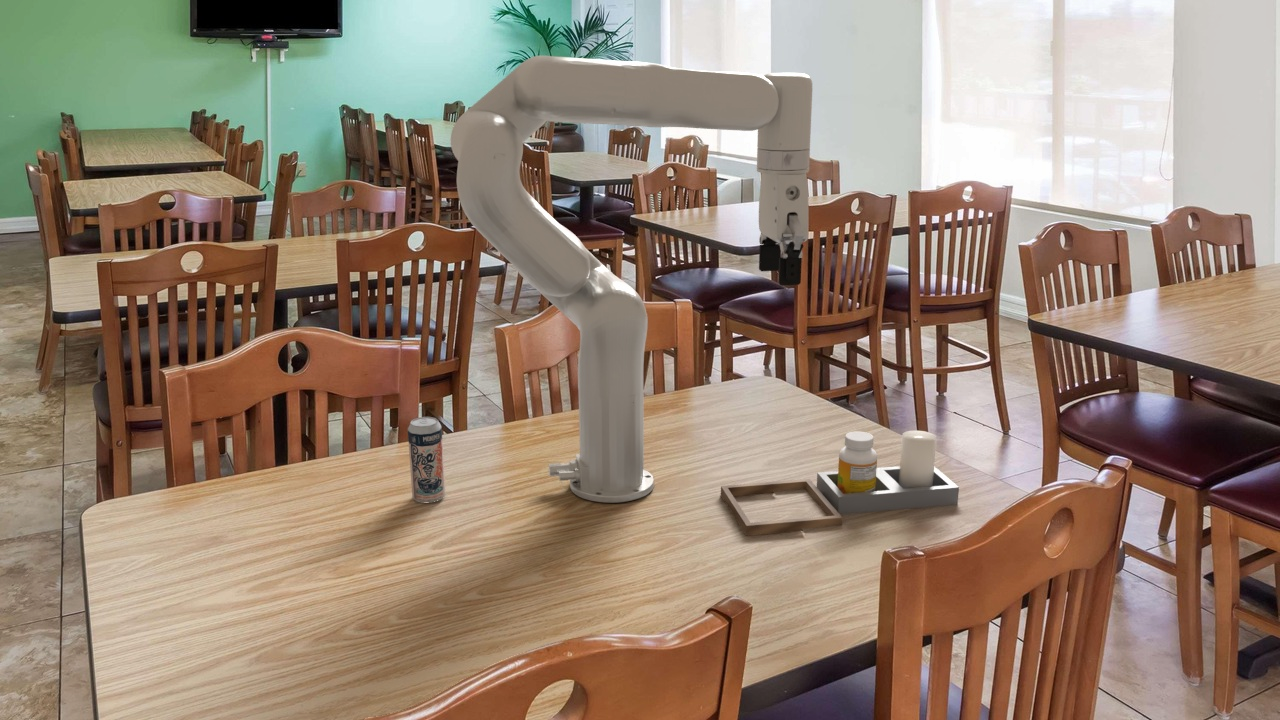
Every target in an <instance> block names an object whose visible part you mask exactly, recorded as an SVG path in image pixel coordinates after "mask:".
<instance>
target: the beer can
mask: <svg viewBox="0 0 1280 720" xmlns="http://www.w3.org/2000/svg"><path fill="white" fill-rule="evenodd" d="M442 429H443V428H442V425H441V423H440V422H439V419H437V418H436V417H434V416H433V417H431V416H421V417H418V418H414V419H412V420H411V421H410V423H409V426H408V427H407V438H408V451H409V468H410V469H409V470H410V480H411V481H410V483H411V496H412V499H413V500H415V501H416V502H418V501H419V502H418V503H420V502H434V501H437V500H439V501H441V500H442V499H444V498H445V496H446V493H447V492H446V480H445V479H446V477H445V461H444V446H443V445H444V444H443V430H442ZM443 497H444V498H443ZM440 499H441V500H440ZM437 502H438V501H437Z"/></svg>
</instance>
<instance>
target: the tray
mask: <svg viewBox="0 0 1280 720" xmlns="http://www.w3.org/2000/svg"><path fill="white" fill-rule="evenodd" d="M804 489H805V490H806V491H807V492H808V494H810V496H811V497H812V498H813V499H814V500H815V501H816V503H817V504H818V505H819V507H821V509H822V510H823V512H824V513H826V515H825V516H814V517H813V516H812V517H802V518H801V517H800V518H790V519H779V520H778V519H777V520H767V521H755V522H751V521H750V520H749V518H748V516H747V515H746V513H745V512H744V510H743V509H742V507H741V506H740V504H739V503H738V501H737V500H736V498H735V497H744V496H745V497H746V496H759V495H769V494H770V495H771V494H775V492H780V491H781V492H782V491H783V492H784V491H791V490H792V491H793V490H804ZM720 496H721V498H722V500H723V501H724V503H725V504H726V506H727V508H728V509H729V511H730V512H731V514H732V515H733V518H734V519H735V520H736V521H737V523H738V525H739V526H740V528H741V529H742V532H743V533H744V535H745V536H747V537H748V536H749V537H750V536H760V535H761V536H762V535H770V534H771V535H773V534H782V533H783V534H784V533H793V532H803V531H804V530H803V529H812V528H813V529H814V528H824V527H825V528H826V527H834V526H835V527H836V526H837V527H838V526H843V516H842V514H839V513H838V512H837V511H836V509H835V508H834V507H833V506H832V505H831V504H830V502H829V501H828V500H827V499H826V498H825V497H824V495H823V494H822V493H821V492H820V491H819V490H818V488H817V485H815V484H814V483H813V481H812V480H811V479H810V478H806V479H805V478H804V479H793V480H791V479H790V480H781V481H780V480H779V481H769V482H767V481H766V482H756V483H755V482H754V483H753V482H752V483H742V484H731V485H721V486H720Z"/></svg>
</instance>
